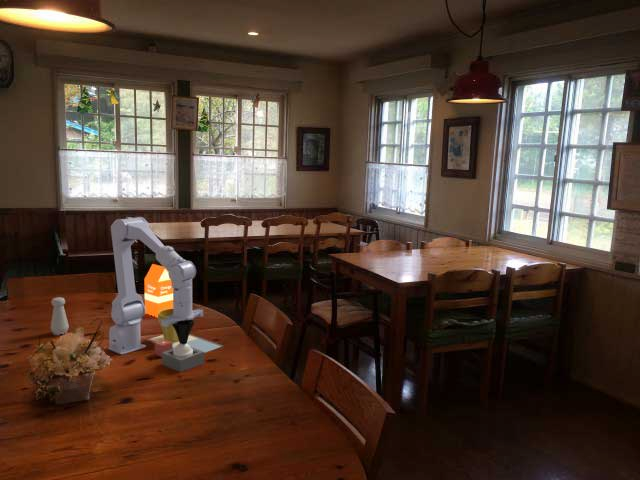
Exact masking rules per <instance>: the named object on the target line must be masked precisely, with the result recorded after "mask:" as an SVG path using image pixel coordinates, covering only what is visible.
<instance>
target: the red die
mask: <svg viewBox="0 0 640 480" xmlns="http://www.w3.org/2000/svg"><path fill="white" fill-rule="evenodd" d="M171 349H173V342H170V341H168V340H162V341H158V342H155V343H154V355H156V356H158V357H160V358H162V352H165V351H168V350H171Z"/></svg>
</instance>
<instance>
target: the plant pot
mask: <svg viewBox="0 0 640 480" xmlns="http://www.w3.org/2000/svg"><path fill="white" fill-rule="evenodd" d="M171 315H173V308H171V309H165V310H162V311H160V312H159V313H158V318H157V322H158V324H160V328H161V332H162V335H163V336H164V340H168V341H170V342H176V341H179V339H178V336H177V333H176V331H175V329H174V327H173V326H172V324H171V325H168V326H167V327H164V326H162V325H161V320H162V319H164V318H167V317H169V316H171Z"/></svg>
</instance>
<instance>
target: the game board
mask: <svg viewBox="0 0 640 480" xmlns="http://www.w3.org/2000/svg"><path fill="white" fill-rule="evenodd" d="M162 340H164V336H163V334H162V335H161V334H160V335H159V336H154V337H151V338H149V339H146V341H147V342H150V343H153V344H155V342H158V341H162ZM178 344H180V343H179V341H176V342H173V349H174V348H176V346H177V345H178ZM187 344H189V346H190V347H192V348H195V349H198V350H201V351H203V352H204V354H206V353H208V352H211V351H214V350H217V349H220V348H222V347H224V345H222V344H219V343H217V342H214V341H211V340H209V339H205V338H202V337H199V336H197V335H194V334H192V333H191V334H190V333H189V336H188V340H187Z"/></svg>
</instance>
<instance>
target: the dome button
mask: <svg viewBox="0 0 640 480" xmlns="http://www.w3.org/2000/svg"><path fill="white" fill-rule="evenodd" d="M192 354H193V349H192V348H191V347H190V346H189V344H187V343H186V344H181V343H180V344H178V345H177V346H176V348H175V349H174V350H173V355H175V356H177V357H180V358H183V357H186V356H189V355H192Z"/></svg>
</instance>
